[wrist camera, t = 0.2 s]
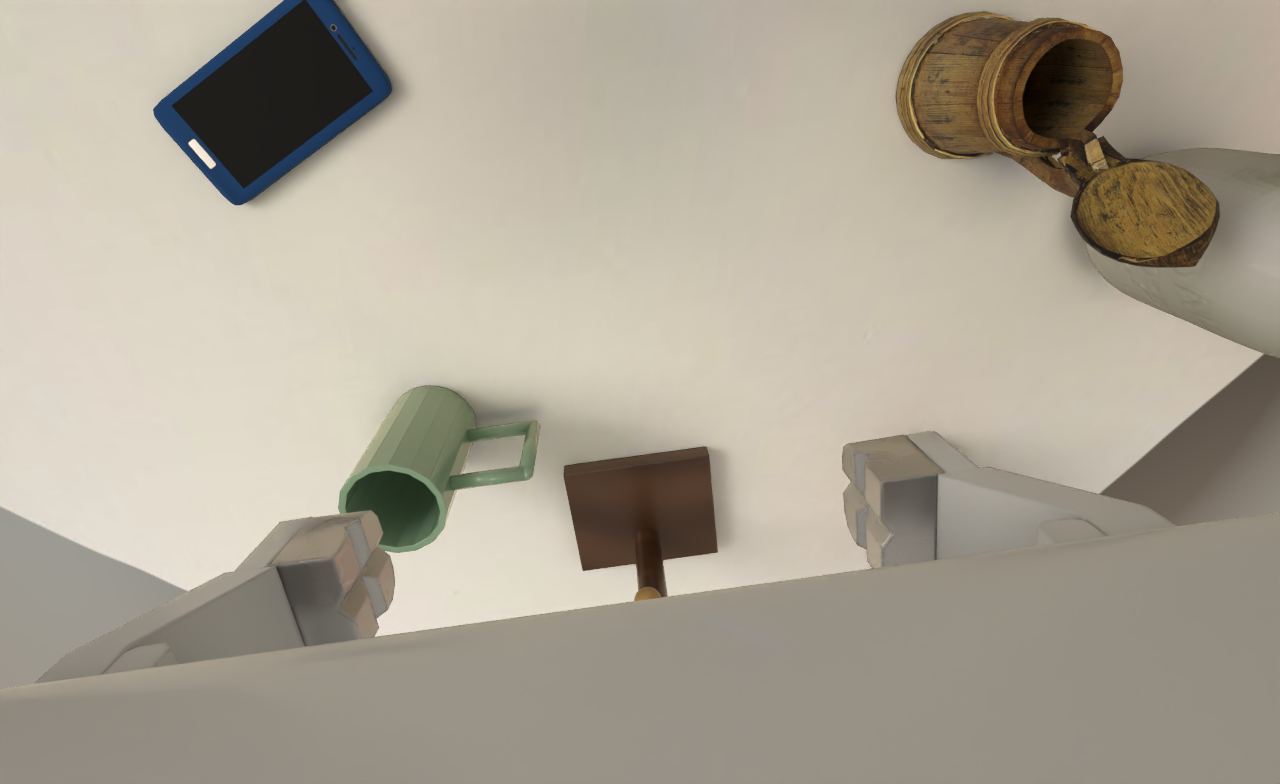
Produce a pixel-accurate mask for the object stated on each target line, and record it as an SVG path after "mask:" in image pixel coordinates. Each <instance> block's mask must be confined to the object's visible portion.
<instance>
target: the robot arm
mask: <svg viewBox="0 0 1280 784" xmlns="http://www.w3.org/2000/svg"><path fill="white" fill-rule="evenodd" d="M842 468H843V471H844V472H845V474H846V475H847V476H848V478H849V479H850V481H851V482H850V484H849V485H848V487H847V488H846V490H845V491H844V493H843V495H844V510H845V515H846V520H847V525H848V528H849V530H850V533H851V535H852V537H853V539H854V541H855V542H856V544H857V545H858V546H860V547H862V548H865V549H867V561H868V563H869V564H870V566H871V567H872V569H866V570H859V571H851V572H844V573H837V574H830V575H822V576H815V577H808V578H801V579H793V580H786V581H779V582H772V583H764V584H757V585H750V586H742V587H735V588H728V589H721V590H713V591H706V592H699V593H691V594H684V595H677V596H670V597H662V598H655V599H648V600H641V601H633V602H626V603H619V604H611V605H604V606H597V607H590V608H582V609H575V610H568V611H560V612H553V613H546V614H539V615H531V616H524V617H517V618H510V619H502V620H495V621H488V622H480V623H473V624H466V625H459V626H451V627H444V628H437V629H429V630H422V631H415V632H408V633H400V634H393V635H386V636H379V637H374V636H375V634H376V632H377V631H378V629H379V626H378V623H377V620H376V618H378V617H379V616H380V615H382V614H383V613H384V612H386V611H387V610H388V608H389V606H390V604H391V602H392V600H393V595H394V587H395V577H394V569H393V565H392V561H391V558H390V555H388V554H387V553H386V552H385V551H383V550H382V549H381V548H380V547H379V546H378V544H379V542H380V539H381V537H382V535H383V531H382V528H381V525H380V522H379V519H378V516H377V515H376V514H375V513H373V512H372V511H371V510H370V511H361V512H353V513H345V514H337V515H328V516H320V517H307V518H301V519H295V520H289V521H283V522H280V523H279V524H278V525H277V526H276V527H275V528H274V529H273V530H272V531H271V532H270V533H269V535H268V536H267V537H266V538H265V539H264V540H263V541H262V542H261V543H260V544H259V545H258V546H257V547H256V548H255V550H254V551H253V552H252V553H251V554H250V555H249V556H248V557H247V558H246V559H245V560H244V561H243V562H242V564H241V565H240V566H239V567H238V568H237V569H236V570H235V571H234V572H228V573H223V574H222V575H220V576H218V577H216V578H214V579H212V580H210V581H208V582H206V583H204V584H202V585H200V586H198V587H196V588H194V589H192V590H190V591H188V592H187V593H185V594H183V595H181V596H179V597H177V598H175V599H173V600H171V601H169V602H167V603H165V604H163V605H161V606H159V607H157V608H155V609H153V610H152V611H150V612H148V613H146V614H144V615H142V616H140V617H138V618H136V619H134V620H132V621H130V622H128V623H126V624H124V625H122V626H121V627H118V628H116V629H115V630H113V631H111V632H109V633H107V634H105V635H103V636H101V637H99V638H97V639H95V640H93V641H91V642H89V643H87V644H85V645H84V646H81V647H79V648H78V649H76V650H74V651H72V652H70V653H68V654H66V655H65V656H64V657H63V658H62V659H60V660H59V661H58V662H57V663H56V664H55V665H54V666H53V667H52V668H50V669H49V670H48V671H47V672H46V673H45V674H44V675H43V676H42V677H40V678H39V679H38V680H37V681H36V682H35V683H34V684H31V685H24V686H16V687H9V688H2V689H0V784H1280V512H1279V513H1272V514H1265V515H1258V516H1251V517H1243V518H1236V519H1229V520H1221V521H1214V522H1207V523H1200V524H1193V525H1185V526H1176V525H1174V524H1173V523H1171V522H1169V521H1168V520H1167V519H1165V518H1163V517H1162V516H1161V515H1159V514H1157V513H1156V512H1154V511H1153V510H1151V509H1150V508H1148V507H1146V506H1144V505H1139V504H1136V503H1132V502H1128V501H1123V500H1120V499H1116V498H1112V497H1108V496H1104V495H1100V494H1096V493H1092V492H1088V491H1084V490H1080V489H1076V488H1072V487H1067V486H1063V485H1059V484H1055V483H1051V482H1047V481H1043V480H1039V479H1035V478H1031V477H1027V476H1023V475H1019V474H1015V473H1011V472H1007V471H1003V470H999V469H995V468H991V467H986V468H979V467H978V466H977V465H975V464H974V463H973V462H972V461H970V460H969V459H968V458H967V457H966V456H964V455H963V454H962V453H961V452H960V451H958V450H957V449H956V448H955V447H953V446H952V445H951V444H950V443H949V442H947V441H946V440H945V439H944V438H943V437H941V436H940V435H939V434H938V433H937V432H934V431H926V432H921V433H916V434H910V435H899V436H893V437H886V438H880V439H874V440H868V441H862V442H855V443H849V444H847V445H845V446H844V447H843V454H842Z"/></svg>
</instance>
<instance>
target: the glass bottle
mask: <svg viewBox="0 0 1280 784" xmlns="http://www.w3.org/2000/svg"><path fill="white" fill-rule="evenodd" d="M1142 160H1153V161H1159V162H1165V163H1169V164H1172V165H1174V166H1177V167H1180V168H1183V169H1185V170H1187V171H1188V172H1190V173H1191V174H1193V175H1194V176H1196V177H1197V178H1198V179H1199V180H1200V181H1202V182H1203V183H1204V184H1205V185H1207V186H1208V187H1209V189H1210V190H1211V192H1212V193H1213V195H1214V196H1215V198H1216V199H1217V201H1218V202H1219V208H1220V218H1219V221H1218V225H1217V228H1216V231H1215V233H1214V235H1213V238H1212V240H1211V242H1210V244H1209V246H1208V248H1207V250H1206V251H1205V253H1204V254H1203V256H1202V257H1201V259H1200V260H1199V262H1198V263H1197V265H1196V266H1194V267H1189V268H1185V267H1177V268H1151V267H1140V266H1134V265H1130V264H1125V263H1121V262H1117V261H1115V260H1113V259H1111V258H1108V257H1106V256H1104V255H1102V254H1100V253H1099V252H1098V251H1096V250H1095V249H1093V248H1092V247H1091V246H1090V245H1089V244H1088V243H1087V242H1086V241H1085V244H1086V249H1087V252H1088V255H1089V257H1090V259H1091V261H1092V263H1093V265H1094V266H1095V268H1096V269H1097V270H1098V272H1099V273H1100V274H1101V275H1102V276H1103V277H1104V278H1105V279H1106V280H1107V281H1108V282H1109V283H1110V284H1111V285H1113V286H1114V287H1115V288H1117V289H1118V290H1120V291H1121V292H1123V293H1125V294H1126V295H1128V296H1130V297H1132V298H1134V299H1136V300H1138V301H1141V302H1143V303H1145V304H1148V305H1150V306H1152V307H1155V308H1157V309H1159V310H1162V311H1164V312H1167V313H1169V314H1171V315H1174V316H1176V317H1178V318H1181V319H1183V320H1185V321H1188V322H1190V323H1192V324H1195V325H1197V326H1199V327H1201V328H1203V329H1206V330H1208V331H1210V332H1212V333H1214V334H1217V335H1219V336H1221V337H1224V338H1226V339H1229V340H1231V341H1234V342H1236V343H1238V344H1241V345H1243V346H1246V347H1248V348H1251V349H1254V350H1256V351H1259V352H1262V353H1264V354H1267V355H1271V356H1274V357H1277V358H1280V154H1268V153H1258V152H1249V151H1240V150H1230V149H1219V148H1195V149H1185V150H1178V151H1172V152H1165V153H1160V154H1156V155H1152V156H1149V157H1146V158H1144V159H1142Z"/></svg>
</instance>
